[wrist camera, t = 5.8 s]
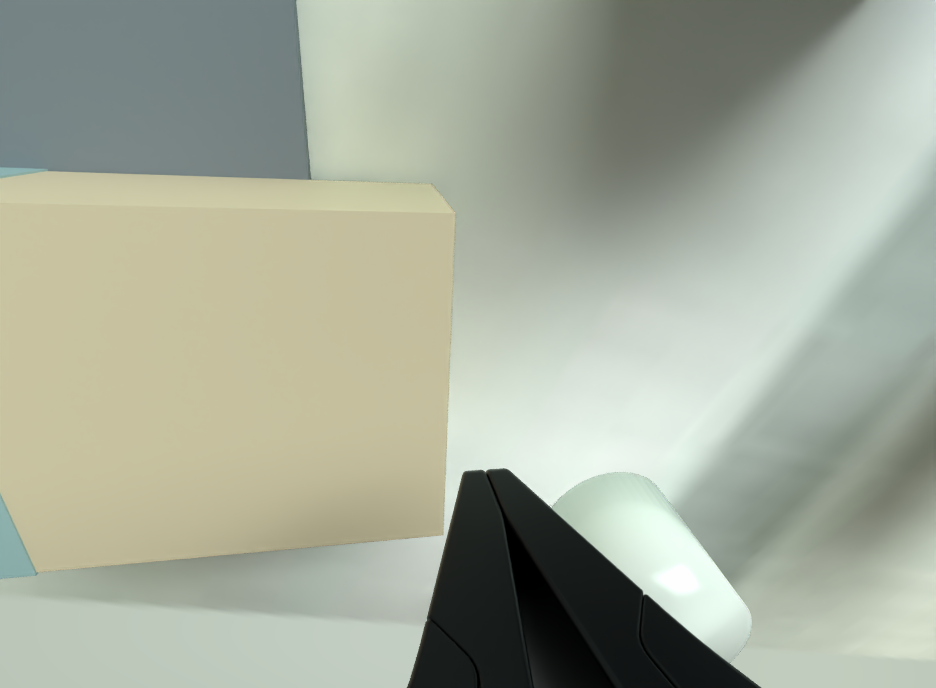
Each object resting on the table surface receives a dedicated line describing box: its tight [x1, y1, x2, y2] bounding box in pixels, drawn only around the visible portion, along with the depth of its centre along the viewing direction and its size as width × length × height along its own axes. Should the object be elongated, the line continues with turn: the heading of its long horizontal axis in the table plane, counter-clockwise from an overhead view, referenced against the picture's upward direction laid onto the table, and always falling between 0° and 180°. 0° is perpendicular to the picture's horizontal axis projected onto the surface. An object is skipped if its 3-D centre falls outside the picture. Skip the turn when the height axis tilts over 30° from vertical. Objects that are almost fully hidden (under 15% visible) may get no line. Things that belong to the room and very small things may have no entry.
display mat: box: [0, 0, 311, 180], centre depth 14 cm, size 13×16×1 cm
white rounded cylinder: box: [552, 472, 752, 663], centre depth 20 cm, size 6×6×6 cm
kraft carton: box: [0, 167, 456, 579], centre depth 13 cm, size 5×9×12 cm
